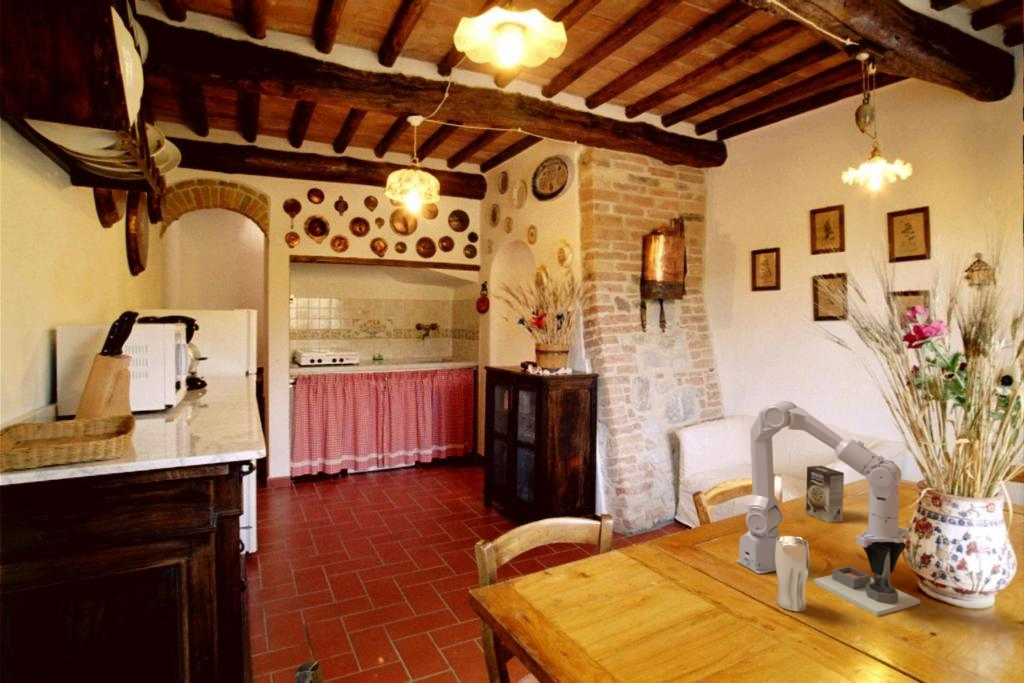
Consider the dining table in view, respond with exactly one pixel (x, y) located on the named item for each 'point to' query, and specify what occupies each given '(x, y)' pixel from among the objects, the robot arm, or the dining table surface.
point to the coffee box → (824, 493)
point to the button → (851, 575)
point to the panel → (865, 591)
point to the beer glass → (791, 571)
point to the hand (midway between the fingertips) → (882, 572)
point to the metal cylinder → (884, 572)
